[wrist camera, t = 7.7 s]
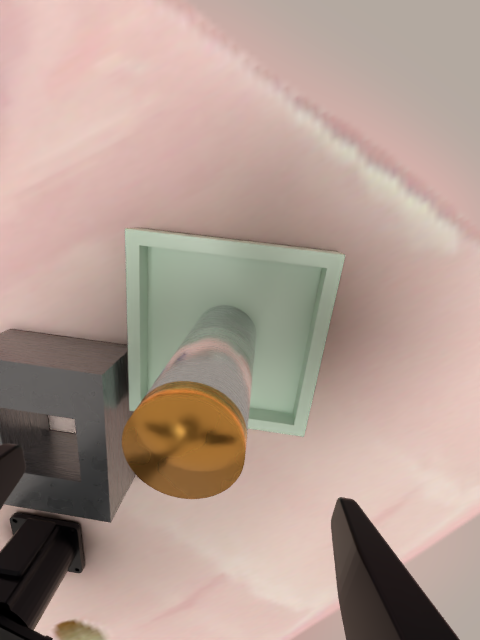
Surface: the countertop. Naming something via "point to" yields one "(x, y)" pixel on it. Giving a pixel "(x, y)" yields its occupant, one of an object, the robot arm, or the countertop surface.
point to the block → (70, 402)
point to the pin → (197, 410)
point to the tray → (243, 293)
